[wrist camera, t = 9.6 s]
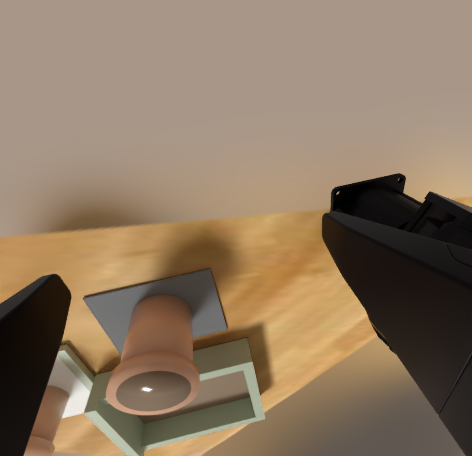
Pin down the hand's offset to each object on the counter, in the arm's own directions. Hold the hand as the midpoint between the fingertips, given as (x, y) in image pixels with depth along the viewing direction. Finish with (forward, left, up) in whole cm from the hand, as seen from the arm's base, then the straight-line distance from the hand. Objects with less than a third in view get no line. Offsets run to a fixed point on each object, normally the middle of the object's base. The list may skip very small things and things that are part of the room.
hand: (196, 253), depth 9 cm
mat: (+7, +15, -12) cm, 20 cm away
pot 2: (+7, +15, -12) cm, 20 cm away
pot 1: (+23, +23, -11) cm, 34 cm away
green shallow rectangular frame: (+8, +29, -12) cm, 32 cm away
